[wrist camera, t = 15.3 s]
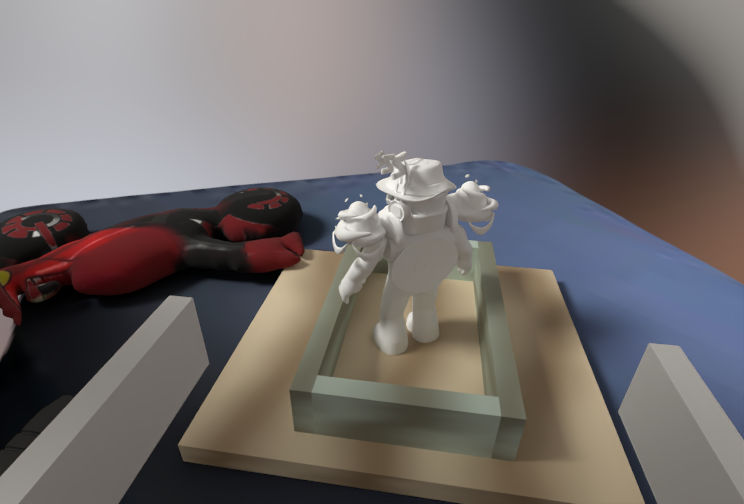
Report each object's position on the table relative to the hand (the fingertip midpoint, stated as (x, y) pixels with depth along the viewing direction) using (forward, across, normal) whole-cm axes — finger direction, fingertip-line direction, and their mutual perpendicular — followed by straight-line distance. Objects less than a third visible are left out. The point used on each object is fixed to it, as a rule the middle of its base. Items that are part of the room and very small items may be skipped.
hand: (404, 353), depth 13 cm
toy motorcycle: (+17, -21, -10) cm, 29 cm away
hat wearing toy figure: (+10, 0, -8) cm, 13 cm away
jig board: (+10, 0, -10) cm, 14 cm away
